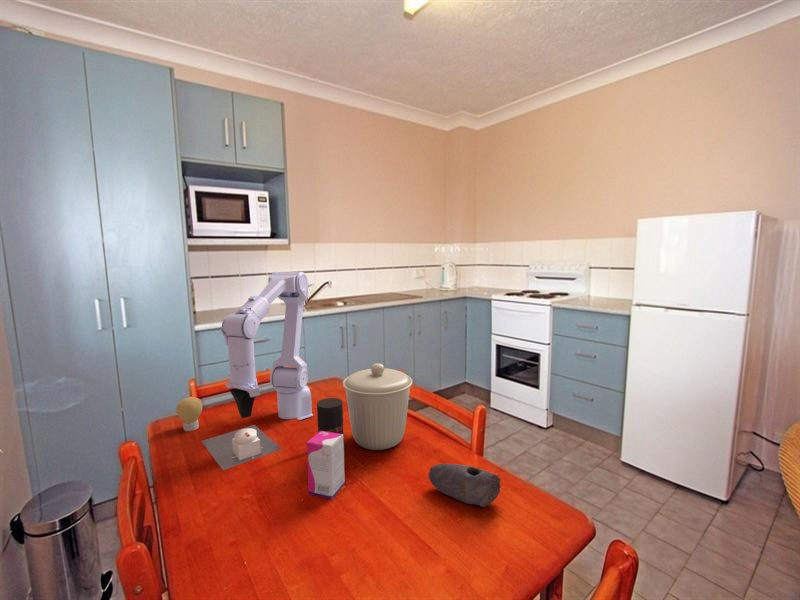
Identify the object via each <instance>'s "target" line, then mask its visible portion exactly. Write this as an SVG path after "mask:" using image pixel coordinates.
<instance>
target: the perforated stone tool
mask: <svg viewBox="0 0 800 600" xmlns="http://www.w3.org/2000/svg"><path fill="white" fill-rule="evenodd" d="M428 479H429V482H430V483H431V484H432V486H433V487H434V488H435V489H436V490H437V491H439V492H440V493H442V494H443V495H446V496H448V497H452V498H453V499H455V500H458V501H460V502H461V503H464V504H468V505H476V506H479V507H481V508H486V507H487V506H488V505H490V504H491V503H493V502H494V501H495V500H496V499H497V498H498V496H499V494H500V490H501V488H502V486H501V477H499V476H498V475H497V474H496V473H493V472H490V471H486V470H485V469H482V468H478V467H475V466H470V465H465V464H459V463H457V464H456V463H439V464H435V465H433V466H431V467H430V469H429V472H428Z"/></svg>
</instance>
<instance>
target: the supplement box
mask: <svg viewBox="0 0 800 600" xmlns="http://www.w3.org/2000/svg"><path fill="white" fill-rule="evenodd" d="M343 436H344V433H343V434H338V433H331V432H325V431H320V432H319V433H318V432H317V433H316V434H315V435H314V436H313V437H311V438H310V439H309V440H308V441H307V442H306V451H307V452H306V453H307V454H306V455H307V475H308V476H307V480H308V484H307V485H308V494H309V495H311V496H312V495H313V496H317V497H322V498H327V499H329V500H333V499H334V498H335V497H336V495H338V492H340V490H341V489H342V488H343V486H344V485H345V484H346V482H345V481H346V477H345V446H344V445H345V442H344V443H343Z"/></svg>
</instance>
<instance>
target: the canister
mask: <svg viewBox="0 0 800 600" xmlns="http://www.w3.org/2000/svg"><path fill="white" fill-rule="evenodd" d="M412 385H413V378H411V376H409V375H407V374H406V373H405V372H403V371H400V370H397V369H392V368H387V367H386V368H385V366H384V365H383V363H380V362H379V363H378V362H376V363H373V364H372V365H371V366H370V368H367V369H362V370H359V371H355V372H354V373H352V374H350V375H348V376H347V377H345V378H344V379H343V380H342V386H343V388H344V389H345V393H346V402H347V403H346V404H347V409H348V416H349V422H350V429H351V434H352V437H353V439H354V441H355V443H356V444H357V445H358V446H359V447H362V448H363V449H365V450H366V449H367V450H372V451H382V450H388V449H391V448H394V447H395V446H397V445H398V444H400V443H401V441H402V439H403V438H404V436H405V430H406V425H407V418H408V417H407V416H408V408H409V399H410V391H411V390H410V389H411V387H412Z"/></svg>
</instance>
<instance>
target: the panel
mask: <svg viewBox="0 0 800 600" xmlns="http://www.w3.org/2000/svg"><path fill="white" fill-rule="evenodd" d="M247 428H252V429H255V430H256V431H257V437H258V438H259V439H260V449H261V453H260V454H257V455H255V456H252V457H249V458H246V459H243V460H239V459H238V458H237V457H236V455H235V454H234V453H233V443H232V439H233V438H235V436H234V435H235V433H236V432H237V431H239V430H242V429H247ZM200 442H201V443H202V444H203V446H204V447H205V448H206V450H207V451H208V452H209V454H210V455H211V456H212V458H213V459H214V461H215V462H216V463H217V465H218V466H219V467H220V469H221V470H222V471H226V470H228V469H230V468H234V467H236V466H239V465H242V464H244V463H247V462H251V461H253V460H255V459H259V458H261V457H264V456H267V455H269V454H273V453H274V452H278V451H281V450H282V448H281V447H280V446H279V445H278V444H277V442H275V441H274V440H273V439H271V438H270V437H269V436H268V435H267V434H265V433H264V432H263V431H262V430H261V429H260V428H259V427H258V426H257V425H255V424H252V425H249V426H246V427H243V428H240V429H236V430H233V431H229V432H226V433H224V434H220V435H216V436H213V437H210V438H207V439H203V440H201V441H200Z"/></svg>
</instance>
